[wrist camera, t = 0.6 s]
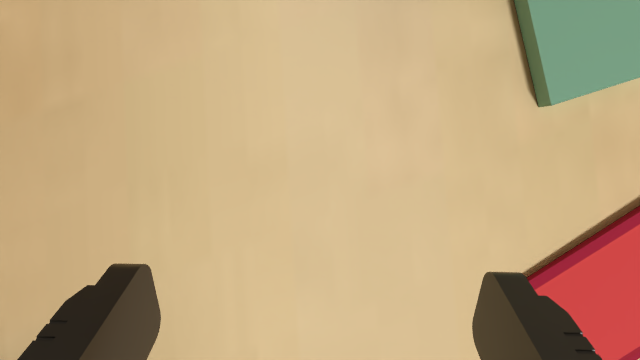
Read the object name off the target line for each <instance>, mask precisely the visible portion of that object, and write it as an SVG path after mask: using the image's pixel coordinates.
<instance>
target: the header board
mask: <svg viewBox="0 0 640 360" xmlns="http://www.w3.org/2000/svg"><path fill="white" fill-rule="evenodd" d="M514 3H515V7H516V11H517V16H518V20H519V24H520V29H521V33H522V37H523V42H524V46H525V50H526V55H527V59H528V63H529V68H530V72H531V76H532V81H533V85H534V89H535V94H536V98H537V102H538V106H539V107H544V106H551V105H555V104H558V103H561V102H564V101H567V100H570V99H573V98H577V97H580V96H583V95H586V94H589V93H592V92H595V91H599V90H602V89H605V88H608V87H611V86H614V85H617V84H621V83H624V82H627V81H630V80H633V79H636V78H639V77H640V0H514Z"/></svg>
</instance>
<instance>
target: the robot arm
mask: <svg viewBox="0 0 640 360" xmlns="http://www.w3.org/2000/svg"><path fill="white" fill-rule="evenodd" d="M160 320H161V315H160V308H159V304H158V299H157V295H156V290H155V286H154V282H153V277H152V273H151V269H150V267H149V266H148V265H146V264H113V265H111V266H110V267H109V268H108V269H107V271H106V272H105V273H104V274H103V276H102V277H101V278H100V280H99V281H98V282H97V284H96V285H87V286H86V287H84V288H83V289H82V290H80V291H79V292H78V293H76V294H75V295H73V296H72V297H71V298H69V299H68V300H66V301H65V302H64V304H63V305H62V306H61V307H60V308H59V310H58V311H57V312H56V313H55V315H54V316H53V317H52V318H51V319H50V323H49V324H46V326H45V327H44V328H43V329H42V330H41V332H40V333H39V334H38V335H37V339H36V341H32V343H31V344H30V345H29V346H28V347H27V349H26V350H25V351H24V352H23V354H22V355H21V356H20V357H19V358H18V360H147V357H148V355H149V353H150V351H151V349H152V347H153V345H154V343H155V341H156V338H157V336H158V332H159V328H160ZM472 329H473V338H474V343H475V346H476V349H477V351H478V354H479V356H480V359H481V360H602V358H601V357H600V356H599V354H596V353H595V349H594V347H593V346H592V345H591V343H590V342H589V340H588V339H587V338H586V337H583V332H582V331H581V330H580V328H579V327H578V325H577V324H576V323H575V321H574V320H573V319H572V317H571V316H570V314H569V313H568V312H567V311H565V310H564V309H563V308H562V307H560V306H559V305H558V304H557V303H555V302H554V301H553V300H552V299H550V298H549V297H548V296H538V294H537V293H536V291H535V290H534V288H533V287H532V285H531V284H530V283H529V281H528V280H527V278H526V277H525V276H524V275H523V274H522V273H513V272H487V273H486V274H485V275H484V278H483V281H482V285H481V289H480V293H479V297H478V301H477V305H476V309H475V313H474V317H473V325H472Z"/></svg>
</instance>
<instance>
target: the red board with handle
mask: <svg viewBox="0 0 640 360" xmlns="http://www.w3.org/2000/svg"><path fill="white" fill-rule="evenodd" d="M527 280H528V281H529V283H530V284H531V285H532V287H533V288H534V290H535V291H536V293H537V294H538V296H548V297H549V298H550V299H552V300H553V301H554V302H555V303H557V304H558V305H559V306H560V307H562V308H563V309H564V310H565V311H567V312H568V313H569V314H570V316H571V317H572V319H573V320H574V321H575V323H576V324H577V325H578V327H579V328H580V330H581V331H582V332H583V337H586V338H587V339H588V340H589V342H590V343H591V345H592V346H593V347H594V349H595V353H596V354H599V356H600V357H601V358H602V360H637V359H639V358H640V206H639V207H637V208H635V209H634V210H632V211H631V212H629V213H628V214H626V215H624V216H623V217H621V218H620V219H618V220H617V221H615V222H613V223H612V224H610V225H609V226H607V227H606V228H604V229H602V230H601V231H599V232H598V233H596V234H595V235H593V236H591V237H590V238H588V239H587V240H585V241H584V242H582V243H580V244H579V245H577V246H576V247H574V248H573V249H571V250H569V251H568V252H566V253H565V254H563V255H562V256H560V257H559V258H557V259H555V260H554V261H552V262H551V263H549V264H548V265H546V266H544V267H543V268H541V269H540V270H538V271H537V272H535V273H533V274H532V275H530V276H529V277H527Z"/></svg>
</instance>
